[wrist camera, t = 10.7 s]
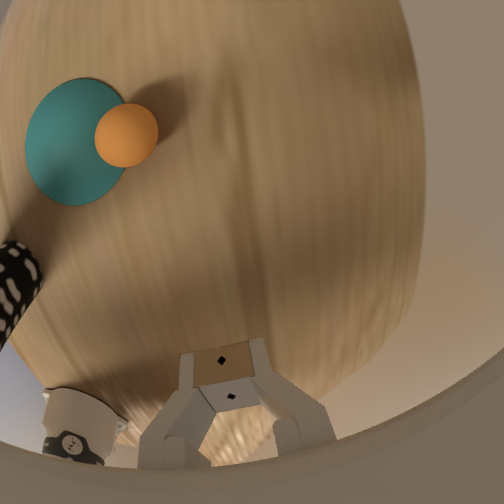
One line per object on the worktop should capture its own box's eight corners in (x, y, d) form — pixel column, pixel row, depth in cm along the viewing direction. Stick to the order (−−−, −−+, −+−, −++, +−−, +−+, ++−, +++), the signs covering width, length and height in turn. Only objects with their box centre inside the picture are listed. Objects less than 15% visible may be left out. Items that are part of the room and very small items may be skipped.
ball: (95, 130, 21) (137, 160, 24) (73, 155, 17) (125, 191, 20) (130, 85, 19) (174, 120, 22) (112, 100, 15) (168, 143, 18)
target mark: (107, 222, 25) (106, 223, 25) (17, 183, 21) (16, 183, 21) (153, 99, 21) (153, 99, 21) (49, 69, 17) (48, 68, 16)
